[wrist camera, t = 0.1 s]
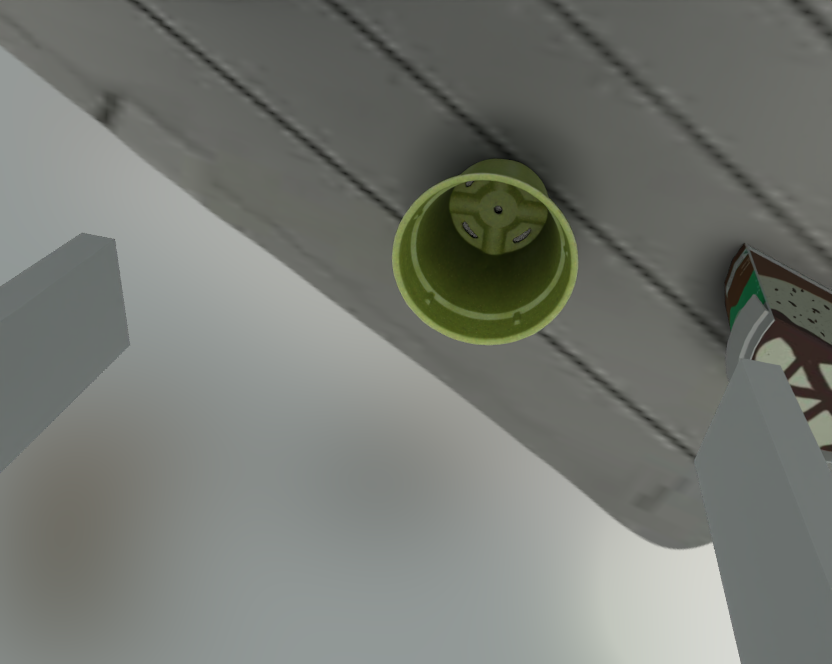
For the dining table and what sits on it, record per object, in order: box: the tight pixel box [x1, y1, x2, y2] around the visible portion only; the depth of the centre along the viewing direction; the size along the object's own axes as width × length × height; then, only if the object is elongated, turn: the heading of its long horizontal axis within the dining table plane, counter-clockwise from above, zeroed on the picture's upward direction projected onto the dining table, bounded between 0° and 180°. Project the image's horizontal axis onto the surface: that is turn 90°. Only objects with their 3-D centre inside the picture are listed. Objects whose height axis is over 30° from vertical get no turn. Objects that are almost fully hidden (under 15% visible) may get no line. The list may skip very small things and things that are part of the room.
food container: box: [725, 243, 832, 463], centre depth 38 cm, size 12×6×10 cm, turn 65°
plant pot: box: [392, 159, 578, 345], centre depth 38 cm, size 9×9×9 cm
